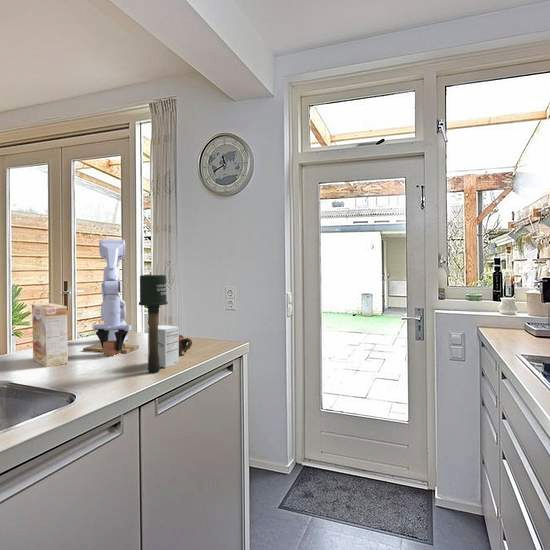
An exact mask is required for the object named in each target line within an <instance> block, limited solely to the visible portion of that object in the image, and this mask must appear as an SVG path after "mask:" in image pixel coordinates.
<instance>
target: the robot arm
mask: <svg viewBox="0 0 550 550" xmlns="http://www.w3.org/2000/svg"><path fill="white" fill-rule="evenodd" d="M98 243H99V245H98V248H99V249H98V251H99V254H100V255H99V256H100V258H101V259H104V260H105V261H106V266H105V267H104V269H103V277H102V279H103V281H102V282H101V295H102V302H101V307H100V319H101V320H102V321H103V323H102V324H101V323H100V324H99V323H98V324H97V323H95V324H92V331H95V335H96V336H97V338H98V339H99V342H100V343H99V344H101V345H102V348H103V342H106V341H109V340H116V342H117V351H120V350H122V346H123V342H124V341H126V342H127V340H129V339H130V338H129V337H128V334H129V332H130V331H132V327H133V326H132V324H127V322H126V321H125V320H126V318H127V317H126V315H127V311H126V310H127V308H126V306H127V305H126V302H125V300H123V298H121V294H122V282H121V269H120V267H119V262H120V261H121V260H122V259H124V258H125V256H126V241H125V239H124V238H123V239H107V238H105V239H103V238H100V240H99V241H98Z"/></svg>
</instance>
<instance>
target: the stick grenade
mask: <svg viewBox="0 0 550 550" xmlns="http://www.w3.org/2000/svg"><path fill="white" fill-rule="evenodd" d="M138 305H139V306H145V307H146V309H147V324H148V328H149V358H148V357H147V371H148V372H149V373H150V374H151V373H153V374H154V373H156V374H157V373H159V372H160V370H161V367H160V364H159V354H158V326H159V324H160V322H159V321H160V320H159V319H160V317H159V316H160V308H161V306H165V305H168V301H167V275H165V274H141V275H140V276H139V302H138Z"/></svg>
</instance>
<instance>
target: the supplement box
mask: <svg viewBox="0 0 550 550" xmlns="http://www.w3.org/2000/svg"><path fill="white" fill-rule="evenodd" d="M179 328H180V327H179V326H175V325H166V324H165V325H159V324H158V354H159V364H160V368H164V369H166V368H167V369H168V368H169V367H172V366H175V365H177V364H179V360H180V359H179V357H180V356H179V335H180V333H179V330H180V329H179ZM148 358H149V327H147V359H148Z"/></svg>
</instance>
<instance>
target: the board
mask: <svg viewBox="0 0 550 550" xmlns="http://www.w3.org/2000/svg"><path fill="white" fill-rule="evenodd" d="M139 347H140V346H139V344H125V347H123V346H122V350H121V354H129V353H130V352H133V351H136V350H138V349H139ZM84 351H100V352H99V353H103V348H102V345H101V343H96V344H92V345H89V346H86V347H83V348H82V352H84ZM128 352H129V353H128Z"/></svg>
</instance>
